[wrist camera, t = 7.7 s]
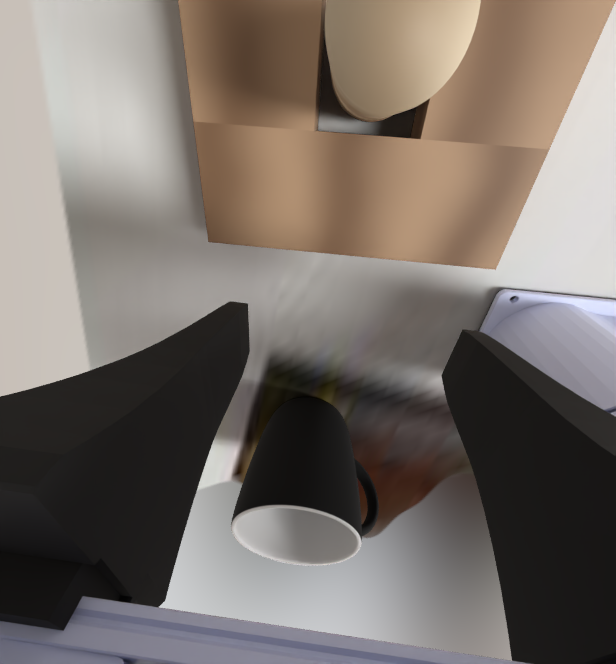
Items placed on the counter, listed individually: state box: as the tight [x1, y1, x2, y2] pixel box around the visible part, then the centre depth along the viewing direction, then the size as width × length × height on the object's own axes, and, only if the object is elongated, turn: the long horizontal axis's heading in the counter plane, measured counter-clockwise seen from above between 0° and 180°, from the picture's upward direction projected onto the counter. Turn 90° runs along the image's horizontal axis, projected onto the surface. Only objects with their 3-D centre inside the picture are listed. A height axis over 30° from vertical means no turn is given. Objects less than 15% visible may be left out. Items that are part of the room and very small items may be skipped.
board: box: [178, 0, 616, 270], centre depth 13 cm, size 16×16×2 cm
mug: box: [231, 397, 379, 566], centre depth 25 cm, size 12×9×10 cm
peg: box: [325, 0, 481, 122], centre depth 11 cm, size 4×4×8 cm
